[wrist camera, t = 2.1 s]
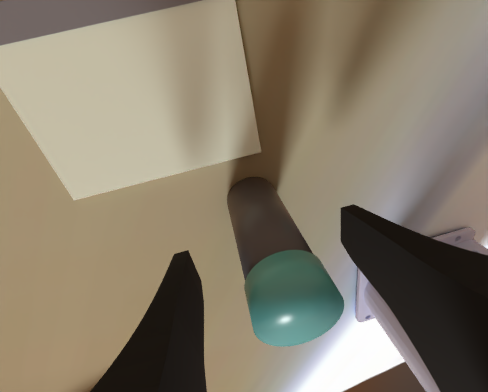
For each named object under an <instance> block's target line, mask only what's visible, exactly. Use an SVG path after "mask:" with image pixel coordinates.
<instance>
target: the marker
mask: <svg viewBox="0 0 488 392" xmlns="http://www.w3.org/2000/svg"><path fill="white" fill-rule="evenodd" d="M227 204H228V209H229V213H230V217H231V222H232V226H233V230H234V235H235V239H236V243H237V248H238V252H239V256H240V261H241V265H242V269H243V274H244V278H245V294H246V298H247V303H248V307H249V312H250V317H251V321H252V326H253V330H254V333H255V335H256V336H257V338H258V339H259V340H261V341H262V342H264V343H266V344H269V345H273V346H293V345H298V344H302V343H305V342H308V341H311V340H313V339H315V338H317V337H319V336H321V335H322V334H324V333H325V332H327V331H328V330H329V329H330V328H332V327H333V326H334V325H335V324H336V322H337V321H338V320H339V318H340V317H341V315H342V313H343V309H344V300H343V297H342V296H341V294H340V292H339V291H338V289H337V287H336V286H335V284H334V282H333V281H332V279H331V278H330V276H329V274H328V273H327V271H326V269H325V268H324V266H323V264H322V263H321V261H320V260H319V259H318V257H316V256H315V255H314V254H313V253H312V251H311V249H310V248H309V246H308V244H307V243H306V241H305V239H304V238H303V236H302V234H301V233H300V231H299V229H298V228H297V226H296V224H295V223H294V221H293V219H292V218H291V216H290V214H289V213H288V211H287V209H286V207H285V206H284V204H283V202H282V201H281V199H280V197H279V196H278V194H277V192H276V191H275V189H274V187H273V186H272V184H271V183H270V182H268V181H267V180H265V179H263V178H259V177H249V178H245V179H243V180H241V181H239V182H238V183H236V184H235V185H234V186H233V187H232V188H231V190H230V192H229V194H228V197H227Z"/></svg>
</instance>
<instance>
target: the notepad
mask: <svg viewBox="0 0 488 392" xmlns="http://www.w3.org/2000/svg"><path fill="white" fill-rule="evenodd" d="M0 88H1V89H2V91H3V92H4V94H5V95H6V97H7V98H8V100H9V102H10V103H11V105H12V106H13V108H14V109H15V111H16V112H17V114H18V115H19V117H20V118H21V120H22V121H23V123H24V125H25V126H26V128H27V129H28V131H29V132H30V134H31V135H32V137H33V138H34V140H35V141H36V143H37V144H38V146H39V148H40V149H41V151H42V152H43V154H44V155H45V157H46V158H47V160H48V161H49V163H50V164H51V166H52V167H53V169H54V171H55V172H56V174H57V175H58V177H59V178H60V180H61V181H62V183H63V184H64V186H65V187H66V189H67V190H68V192H69V194H70V195H71V197H72V198H73V200H78V199H81V198H85V197H89V196H93V195H97V194H101V193H105V192H109V191H112V190H116V189H120V188H124V187H128V186H132V185H136V184H140V183H143V182H147V181H151V180H155V179H159V178H163V177H167V176H171V175H174V174H178V173H182V172H186V171H190V170H194V169H198V168H202V167H205V166H209V165H213V164H217V163H221V162H225V161H229V160H233V159H236V158H240V157H244V156H248V155H252V154H256V153H260V152H261V147H260V141H259V135H258V130H257V124H256V118H255V112H254V106H253V101H252V95H251V89H250V83H249V77H248V72H247V66H246V60H245V54H244V49H243V43H242V37H241V31H240V25H239V20H238V14H237V8H236V2H235V0H3V1H0Z"/></svg>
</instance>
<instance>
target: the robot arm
mask: <svg viewBox="0 0 488 392" xmlns="http://www.w3.org/2000/svg"><path fill="white" fill-rule="evenodd" d="M474 235H475V231H474V230H473V229H471V228H464V229H461V230H457V231H454V232H450V233H447V234H444V235H440V236H437V237H433V238H429V237H427V236H424V235H422V234H419V233H417V232H414V231H411V230H409V229H407V228H404V227H402V226H400V225H397V224H395V223H393V222H391V221H388V220H386V219H384V218H382V217H380V216H378V215H376V214H373V213H371V212H369V211H367V210H365V209H363V208H360V207H358V206H356V205H350V206H346V207H342V208H341V242H342V244H343V246H344V248H345V249H346V251H347V253H348V254H349V256H350V257H351V259H352V260H353V262H354V263H355V264H356V266H357V267H358V279H357V298H356V319H357V321H358V322H363V321H367V320H370V319H373V318H376V319H377V321H378V322H379V324H380V325H381V327H382V328H383V329H384V331H385V332H386V334H387V335H388V337H389V338H390V340H391V341H392V343H393V344H394V345H395V347H396V348H397V350H398V351H399V353H400V354H401V356H402V357H403V359H404V360H405V361H406V363H407V364H408V366H409V367H410V369H411V370H412V371H413V373H414V375H415V376H416V377H417V379H418V380H419V382H420V383H421V385H422V386H423V388H424V389H425V391H426V392H488V249H487V248H485V247H484V246H482V245H481V244H479V243H478V242H476V241H475V240H473V238H474ZM90 392H207V390H206V379H205V368H204V300H203V292H202V284H201V279H200V277H199V275H198V272H197V270H196V268H195V265H194V263H193V261H192V258H191V256H190V253H189V251H188V250H187V251H184V252H180V253H177V254H174V256H173V258H172V260H171V263H170V265H169V267H168V270H167V272H166V274H165V276H164V278H163V281H162V283H161V285H160V287H159V289H158V291H157V293H156V295H155V297H154V299H153V301H152V303H151V304H150V306H149V308H148V310H147V312H146V313H145V315H144V317H143V319H142V320H141V322H140V324H139V325H138V327H137V329H136V330H135V332H134V333H133V335H132V336H131V338H130V339H129V341H128V342H127V344H126V345H125V347H124V348H123V350H122V351H121V352H120V354H119V355H118V357H117V358H116V359H115V361H114V362H113V363H112V365H111V366H110V368H109V369H108V370H107V372H106V373H105V374H104V375H103V377H102V378H101V379H100V380H99V381H98V383H97V384H96V385H95V386H94V388H93V389H92V390H91V391H90Z"/></svg>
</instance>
